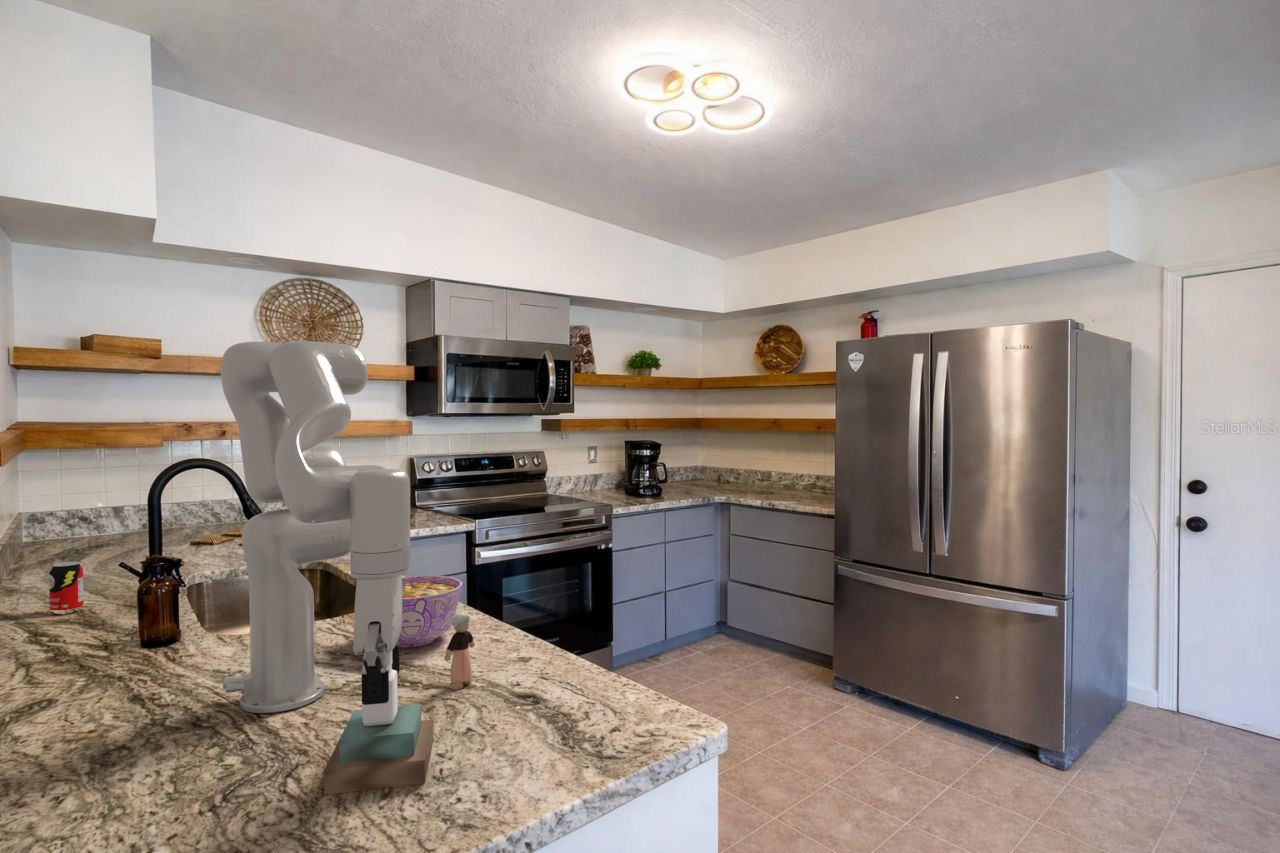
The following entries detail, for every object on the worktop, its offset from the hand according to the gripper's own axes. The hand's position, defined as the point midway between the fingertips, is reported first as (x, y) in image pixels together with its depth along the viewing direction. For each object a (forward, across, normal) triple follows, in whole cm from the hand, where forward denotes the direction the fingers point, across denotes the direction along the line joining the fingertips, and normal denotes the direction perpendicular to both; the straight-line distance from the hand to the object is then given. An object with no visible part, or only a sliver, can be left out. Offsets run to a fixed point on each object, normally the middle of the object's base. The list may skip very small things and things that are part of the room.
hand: (381, 688), depth 91 cm
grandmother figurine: (+11, -27, +9) cm, 30 cm away
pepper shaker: (+5, 0, 0) cm, 5 cm away
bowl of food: (+11, -53, -2) cm, 54 cm away
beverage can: (+11, -95, -88) cm, 130 cm away
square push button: (+10, 0, 0) cm, 10 cm away
